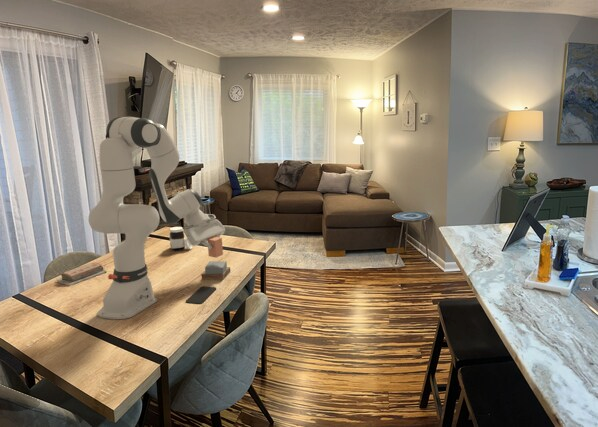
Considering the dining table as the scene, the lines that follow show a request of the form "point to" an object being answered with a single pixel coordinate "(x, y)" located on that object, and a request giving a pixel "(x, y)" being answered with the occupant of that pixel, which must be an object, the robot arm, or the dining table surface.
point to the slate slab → (216, 267)
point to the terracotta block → (215, 247)
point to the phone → (200, 295)
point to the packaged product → (81, 274)
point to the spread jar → (178, 239)
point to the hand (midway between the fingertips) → (216, 246)
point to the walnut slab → (216, 275)
